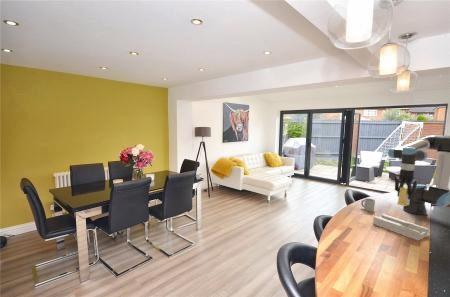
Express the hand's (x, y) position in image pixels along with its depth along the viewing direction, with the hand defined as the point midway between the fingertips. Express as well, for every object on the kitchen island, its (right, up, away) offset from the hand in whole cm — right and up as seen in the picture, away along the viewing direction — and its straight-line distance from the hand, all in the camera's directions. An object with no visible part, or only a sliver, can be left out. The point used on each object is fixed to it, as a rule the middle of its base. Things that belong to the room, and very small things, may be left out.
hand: (403, 202), depth 157 cm
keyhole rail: (-6, -18, -4) cm, 19 cm away
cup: (-5, -14, +33) cm, 36 cm away
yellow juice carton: (0, -2, 0) cm, 2 cm away
